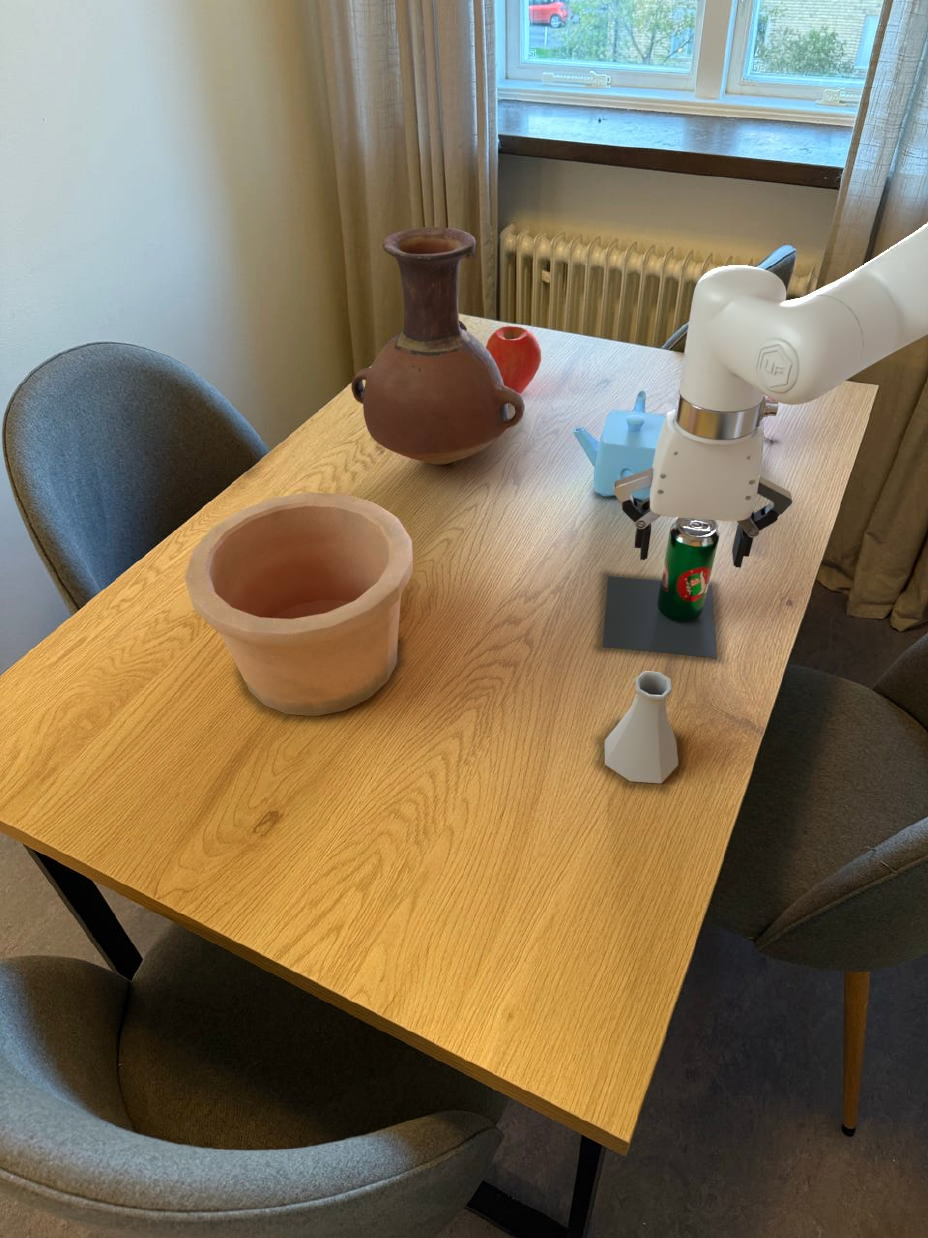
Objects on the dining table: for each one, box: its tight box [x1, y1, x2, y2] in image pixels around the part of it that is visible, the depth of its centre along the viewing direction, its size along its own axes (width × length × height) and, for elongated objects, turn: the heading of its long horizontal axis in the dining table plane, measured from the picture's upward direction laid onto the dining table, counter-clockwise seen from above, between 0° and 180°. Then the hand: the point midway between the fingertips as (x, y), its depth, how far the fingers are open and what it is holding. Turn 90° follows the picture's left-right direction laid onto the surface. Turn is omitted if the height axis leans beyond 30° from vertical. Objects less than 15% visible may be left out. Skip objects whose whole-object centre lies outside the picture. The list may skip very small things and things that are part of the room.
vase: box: [350, 226, 525, 466], centre depth 109 cm, size 25×20×30 cm
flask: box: [604, 670, 679, 784], centre depth 76 cm, size 7×7×10 cm
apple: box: [485, 325, 542, 395], centre depth 129 cm, size 9×8×11 cm
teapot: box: [572, 390, 666, 502], centre depth 110 cm, size 18×14×10 cm
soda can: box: [657, 518, 721, 622], centre depth 90 cm, size 5×5×12 cm
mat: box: [602, 575, 717, 659], centre depth 94 cm, size 12×12×1 cm
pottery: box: [184, 492, 414, 717], centre depth 86 cm, size 22×22×14 cm
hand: (689, 555), depth 89 cm, fingers open, 9 cm apart
